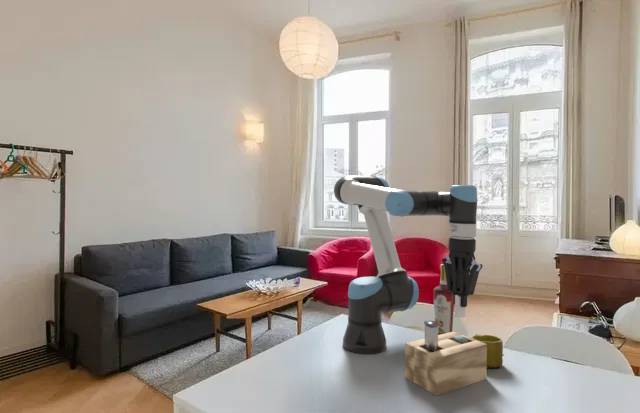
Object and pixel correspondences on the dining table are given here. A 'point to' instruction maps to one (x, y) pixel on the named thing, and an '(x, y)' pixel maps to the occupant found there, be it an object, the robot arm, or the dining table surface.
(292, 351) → the dining table surface
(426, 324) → the metal pin
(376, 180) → the robot arm
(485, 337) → the mug
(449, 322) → the liquor
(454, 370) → the oak block
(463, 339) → the walnut peg
